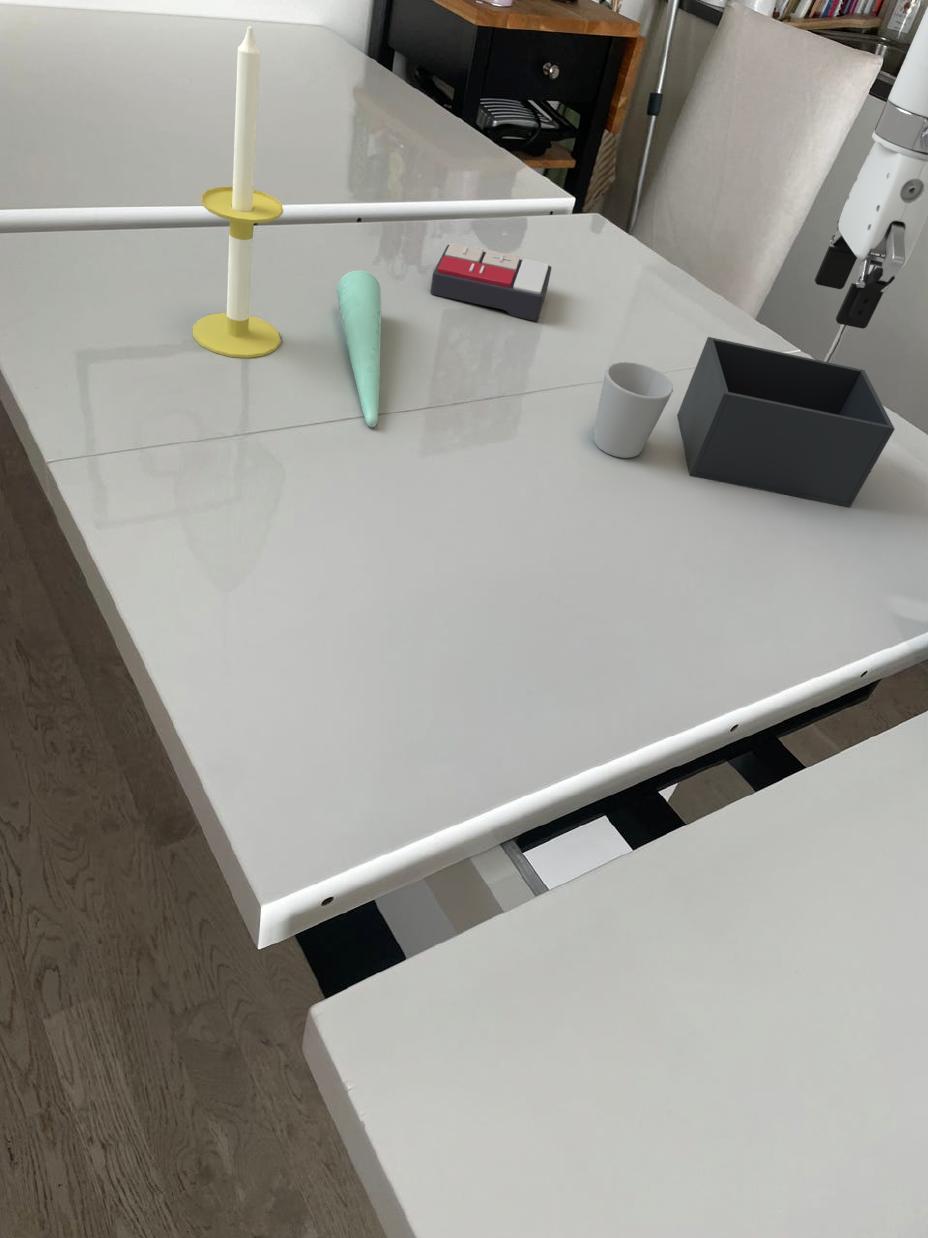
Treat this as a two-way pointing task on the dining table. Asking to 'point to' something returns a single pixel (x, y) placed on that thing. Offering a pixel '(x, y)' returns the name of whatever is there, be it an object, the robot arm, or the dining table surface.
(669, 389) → the cup
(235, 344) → the candle
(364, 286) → the long green cone
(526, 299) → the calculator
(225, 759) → the dining table surface
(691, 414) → the bin
